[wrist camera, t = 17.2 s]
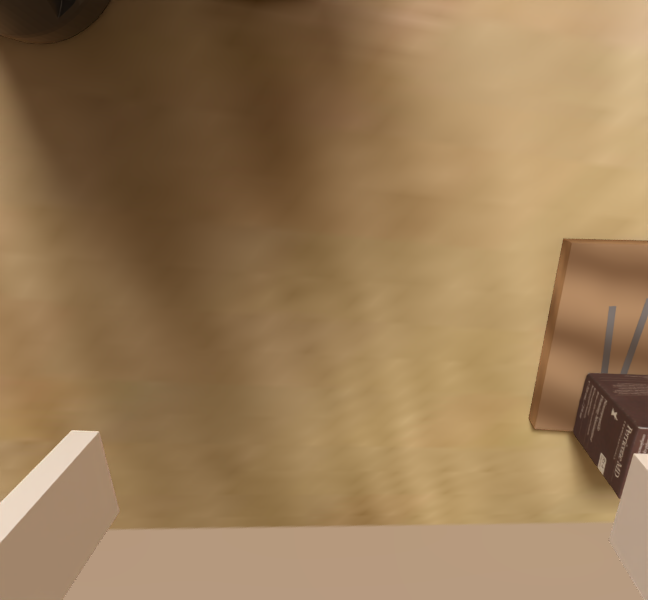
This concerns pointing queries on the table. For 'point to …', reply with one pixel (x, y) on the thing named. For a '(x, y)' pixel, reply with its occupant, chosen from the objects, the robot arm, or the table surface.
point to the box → (613, 423)
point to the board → (591, 325)
